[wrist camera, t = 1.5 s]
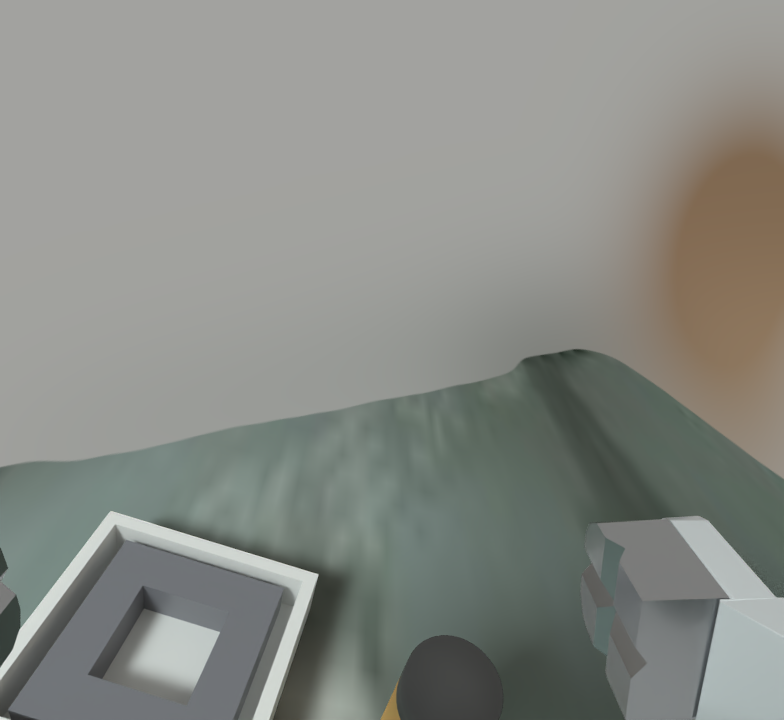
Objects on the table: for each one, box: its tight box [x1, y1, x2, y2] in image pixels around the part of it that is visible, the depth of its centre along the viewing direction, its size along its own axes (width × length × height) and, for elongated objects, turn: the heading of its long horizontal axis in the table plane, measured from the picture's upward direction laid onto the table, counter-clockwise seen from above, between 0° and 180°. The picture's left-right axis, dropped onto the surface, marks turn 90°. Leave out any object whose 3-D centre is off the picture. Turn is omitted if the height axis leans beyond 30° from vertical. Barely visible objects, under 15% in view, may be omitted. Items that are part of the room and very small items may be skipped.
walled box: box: [0, 511, 319, 720], centre depth 34 cm, size 14×13×4 cm
